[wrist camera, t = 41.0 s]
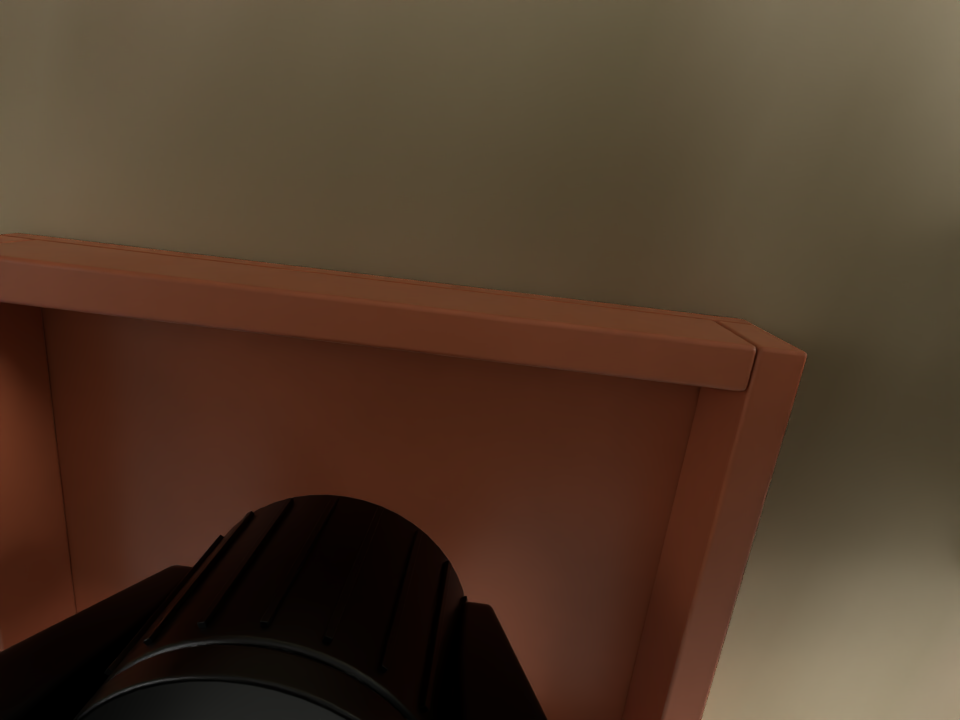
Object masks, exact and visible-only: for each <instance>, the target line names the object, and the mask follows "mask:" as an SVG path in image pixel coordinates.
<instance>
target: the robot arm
mask: <svg viewBox="0 0 960 720" xmlns="http://www.w3.org/2000/svg"><path fill="white" fill-rule="evenodd" d="M191 569H192V567H190V566H182V565H173V566H170V567H168V568H166V569H164V570H162V571H160V572H158V573H156V574H154V575H152V576H150V577H148V578H146V579H144V580H142V581H140V582H138V583H136V584H134V585H132V586H130V587H128V588H126V589H124V590H122V591H120V592H118V593H116V594H114V595H112V596H110V597H108V598H106V599H104V600H102V601H100V602H98V603H96V604H94V605H92V606H90V607H88V608H86V609H84V610H82V611H80V612H78V613H77V614H75V615H73V616H71V617H69V618H67V619H65V620H63V621H61V622H59V623H57V624H55V625H53V626H51V627H49V628H47V629H45V630H43V631H41V632H39V633H37V634H35V635H33V636H31V637H29V638H27V639H25V640H23V641H21V642H19V643H17V644H15V645H13V646H11V647H9V648H7V649H5V650H3V651H1V652H0V720H73V719H74V718H75V717H76V715H77V714H78V713H79V712H80V711H81V709H82V708H83V707H84V706H85V705H86V703H87V702H88V701H89V700H90V699H91V698H92V697H93V695H94V694H95V693H96V692H97V690H98V689H99V688H100V686H101V685H102V684H103V683H104V682H105V680H106V679H107V678H108V677H109V676H108V675H106V674H105V673H104V672H105V671H106V669H107V668H108V667H109V666H110V665H111V664H112V662H113V661H114V660H115V659H116V658H117V656H118V655H119V654H120V653H121V652H122V650H123V649H124V648H125V647H126V646H127V645H128V643H129V642H130V641H131V640H132V639H133V637H134V636H135V635H136V634H137V633H138V631H139V630H140V629H141V628H142V627H143V626H144V624H145V623H146V622H147V621H148V620H149V618H150V617H151V616H152V615H153V614H154V613H155V611H156V610H157V609H158V608H159V607H160V605H161V604H162V603H163V602H164V601H165V599H166V598H167V597H168V596H169V595H170V594H171V592H172V591H173V590H174V589H175V588H176V586H177V585H178V584H179V583H180V582H181V580H182V579H183V578H184V577H185V576H186V575H187V573H188V572H189V571H190V570H191ZM454 707H455V720H548V719H547V717H546V715H545V713H544V711H543V709H542V707H541V705H540V703H539V701H538V699H537V697H536V695H535V693H534V691H533V689H532V687H531V685H530V683H529V681H528V679H527V677H526V675H525V673H524V671H523V669H522V667H521V665H520V663H519V661H518V658H517V656H516V654H515V652H514V650H513V648H512V646H511V644H510V642H509V640H508V638H507V636H506V634H505V632H504V630H503V628H502V626H501V624H500V622H499V620H498V618H497V616H496V614H495V612H494V610H493V608H492V607H491V606H490V605H489V604H484V603H476V602H468V601H467V602H465V603H464V604H463V605H462V610H461V619H460V628H459V637H458V646H457V655H456V664H455V675H454Z"/></svg>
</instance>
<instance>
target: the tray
mask: <svg viewBox="0 0 960 720" xmlns="http://www.w3.org/2000/svg"><path fill="white" fill-rule="evenodd" d="M806 359H807V353H806V352H804V351H802V350H800V349H798V348H797V347H795V346H793V345H791V344H789V343H787V342H785V341H783V340H781V339H779V338H778V337H776V336H774V335H772V334H770V333H768V332H766V331H764V330H762V329H760V328H759V327H757V326H755V325H753V324H752V323H750V322H748V321H746V320H744V319H737V318H729V317H720V316H712V315H703V314H695V313H687V312H678V311H670V310H661V309H653V308H645V307H636V306H628V305H619V304H611V303H602V302H594V301H586V300H577V299H569V298H560V297H552V296H544V295H535V294H527V293H518V292H510V291H502V290H493V289H485V288H476V287H468V286H459V285H451V284H443V283H434V282H426V281H417V280H409V279H401V278H392V277H384V276H375V275H367V274H359V273H350V272H342V271H333V270H325V269H316V268H308V267H300V266H291V265H283V264H274V263H266V262H258V261H249V260H241V259H232V258H224V257H216V256H207V255H199V254H190V253H182V252H174V251H165V250H157V249H148V248H140V247H131V246H123V245H115V244H106V243H98V242H89V241H81V240H73V239H64V238H56V237H47V236H39V235H31V234H22V233H13V234H1V235H0V652H1V651H3V650H5V649H7V648H9V647H11V646H13V645H15V644H17V643H19V642H21V641H23V640H25V639H27V638H29V637H31V636H33V635H35V634H37V633H39V632H41V631H43V630H45V629H47V628H49V627H51V626H53V625H55V624H57V623H59V622H61V621H63V620H65V619H67V618H69V617H71V616H73V615H75V614H77V613H78V612H80V611H82V610H84V609H86V608H88V607H90V606H92V605H94V604H96V603H98V602H100V601H102V600H104V599H106V598H108V597H110V596H112V595H114V594H116V593H118V592H120V591H122V590H124V589H126V588H128V587H130V586H132V585H134V584H136V583H138V582H140V581H142V580H144V579H146V578H148V577H150V576H152V575H154V574H156V573H158V572H160V571H162V570H164V569H166V568H168V567H170V566H173V565H182V566H190V567H193V566H194V565H195V564H196V563H197V561H198V560H199V559H200V558H201V557H202V556H203V554H204V553H205V552H206V551H207V550H208V548H209V547H210V546H211V545H212V544H213V542H214V541H215V540H216V539H217V538H218V537H219V535H222V536H223V537H224V536H225V535H226V534H227V533H228V532H229V531H230V530H231V529H232V527H234V526H235V525H236V524H237V523H238V522H240V521H241V520H242V519H243V518H244V517H245V515H246V514H247V513H248V512H250V511H252V512H255V511H256V510H258V509H260V508H262V507H265V506H267V505H269V504H272V503H274V502H277V501H281V500H285V499H287V498H292V497H298V496H305V495H324V494H329V495H339V496H348V497H352V498H357V499H362V500H365V501H368V502H371V503H374V504H377V505H380V506H383V507H385V508H387V509H389V510H391V511H393V512H395V513H398V514H399V515H401V516H402V517H404V518H406V519H407V520H409V521H410V522H412V523H414V524H415V525H416V526H417V527H419V528H420V529H421V530H422V531H424V532H425V533H426V534H427V535H428V536H429V537H430V538H431V539H432V540H433V541H434V542H435V543H436V544H437V545H438V546H439V547H440V549H441V550H442V551H443V553H444V554H445V555H446V557H447V558H448V559H449V561H450V562H451V564H452V567H453V568H454V570H455V572H456V574H457V576H458V578H459V581H460V583H461V586H462V589H463V592H464V596H467V599H468V602H476V603H484V604H489V605H490V606H491V607H492V608H493V610H494V612H495V614H496V616H497V618H498V620H499V622H500V624H501V626H502V628H503V630H504V632H505V634H506V636H507V638H508V640H509V642H510V644H511V646H512V648H513V650H514V652H515V654H516V656H517V658H518V661H519V663H520V665H521V667H522V669H523V671H524V673H525V675H526V677H527V679H528V681H529V683H530V685H531V687H532V689H533V691H534V693H535V695H536V697H537V699H538V701H539V703H540V705H541V707H542V709H543V711H544V713H545V715H546V717H547V719H548V720H701V719H702V716H703V712H704V709H705V706H706V702H707V699H708V695H709V692H710V688H711V685H712V682H713V678H714V675H715V671H716V668H717V664H718V661H719V658H720V654H721V651H722V647H723V644H724V640H725V637H726V634H727V630H728V627H729V623H730V620H731V616H732V613H733V610H734V606H735V603H736V599H737V596H738V592H739V589H740V586H741V582H742V579H743V575H744V572H745V568H746V565H747V562H748V558H749V555H750V551H751V548H752V544H753V541H754V538H755V534H756V531H757V527H758V524H759V520H760V517H761V514H762V510H763V507H764V503H765V500H766V496H767V493H768V490H769V486H770V483H771V479H772V476H773V473H774V469H775V466H776V462H777V459H778V455H779V452H780V449H781V445H782V442H783V438H784V435H785V431H786V428H787V425H788V421H789V418H790V414H791V411H792V407H793V404H794V401H795V397H796V394H797V390H798V387H799V383H800V380H801V377H802V373H803V370H804V366H805V363H806Z"/></svg>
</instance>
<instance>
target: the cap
mask: <svg viewBox="0 0 960 720" xmlns="http://www.w3.org/2000/svg"><path fill="white" fill-rule="evenodd" d="M467 601H468V599H467V596H464V592H463V589H462V586H461V583H460V581H459V578H458V576H457V574H456V572H455V570H454V568H453V567H452V564H451V562H450V561H449V559H448V558H447V557H446V555H445V554H444V553H443V551H442V550H441V549H440V547H439V546H438V545H437V544H436V543H435V542H434V541H433V540H432V539H431V538H430V537H429V536H428V535H427V534H426V533H425V532H424V531H422V530H421V529H420V528H419V527H417V526H416V525H415V524H414V523H412V522H410V521H409V520H407V519H406V518H404V517H402V516H401V515H399V514H398V513H395V512H393V511H391V510H389V509H387V508H385V507H383V506H380V505H377V504H374V503H371V502H368V501H365V500H362V499H357V498H352V497H348V496H339V495H329V494H324V495H305V496H298V497H292V498H287V499H285V500H281V501H277V502H274V503H272V504H269V505H267V506H265V507H262V508H260V509H258V510H256V511H255V512H252V511H250V512H248V513H247V514H246V515H245V517H244V518H243V519H242V520H241V521H240V522H238V523H237V524H236V525H235V526H234V527H232V529H231V530H230V531H229V532H228V533H227V534H226V535H225V536H224V537H223V536H222V535H219V537H218V538H217V539H216V540H215V541H214V542H213V544H212V545H211V546H210V547H209V548H208V550H207V551H206V552H205V553H204V554H203V556H202V557H201V558H200V559H199V560H198V561H197V563H196V564H195V565H194V566H193V567H192V569H191V570H190V571H189V572H188V573H187V575H186V576H185V577H184V578H183V579H182V580H181V582H180V583H179V584H178V585H177V586H176V588H175V589H174V590H173V591H172V592H171V594H170V595H169V596H168V597H167V598H166V599H165V601H164V602H163V603H162V604H161V605H160V607H159V608H158V609H157V610H156V611H155V613H154V614H153V615H152V616H151V617H150V618H149V620H148V621H147V622H146V623H145V624H144V626H143V627H142V628H141V629H140V630H139V631H138V633H137V634H136V635H135V636H134V637H133V639H132V640H131V641H130V642H129V643H128V645H127V646H126V647H125V648H124V649H123V650H122V652H121V653H120V654H119V655H118V656H117V658H116V659H115V660H114V661H113V662H112V664H111V665H110V666H109V667H108V668H107V669H106V671H105V672H104V673H105V674H106V675H108V676H109V677H108V678H107V679H106V680H105V682H104V683H103V684H102V685H101V686H100V688H99V689H98V690H97V692H96V693H95V694H94V695H93V697H92V698H91V699H90V700H89V701H88V702H87V703H86V705H85V706H84V707H83V708H82V709H81V711H80V712H79V713H78V714H77V715H76V717H75V718H74V719H73V720H455V707H454V675H455V664H456V655H457V646H458V637H459V628H460V619H461V610H462V605H463V604H464V603H465V602H467Z"/></svg>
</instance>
